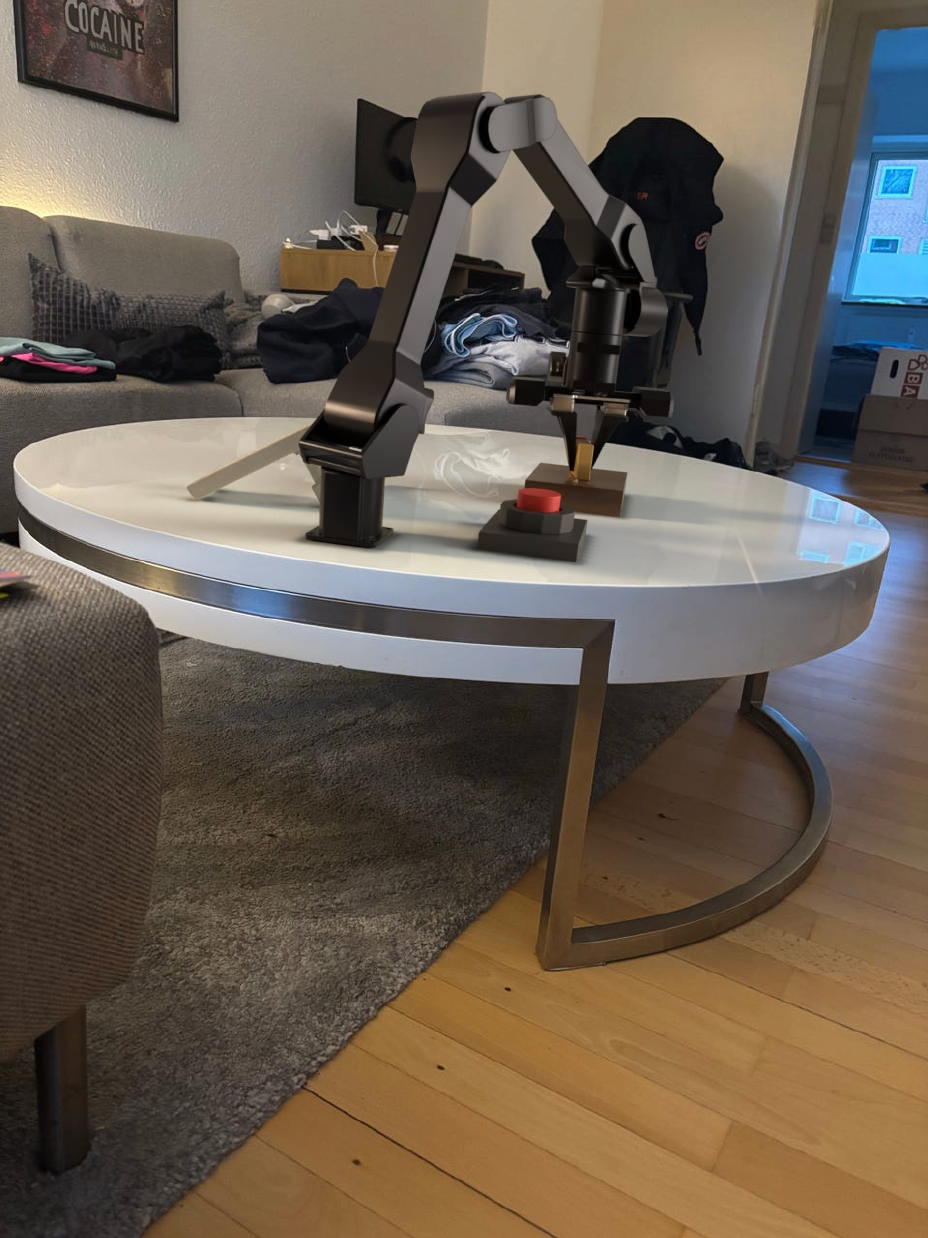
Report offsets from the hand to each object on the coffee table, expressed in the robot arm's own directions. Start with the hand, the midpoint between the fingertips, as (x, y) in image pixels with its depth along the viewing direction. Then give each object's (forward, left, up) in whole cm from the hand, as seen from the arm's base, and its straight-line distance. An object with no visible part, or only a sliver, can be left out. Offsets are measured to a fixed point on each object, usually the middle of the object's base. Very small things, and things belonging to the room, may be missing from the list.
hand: (579, 471), depth 108 cm
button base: (-24, +2, -4) cm, 24 cm away
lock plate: (0, 0, -4) cm, 4 cm away
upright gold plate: (0, 0, 0) cm, 0 cm away
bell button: (-24, +2, 0) cm, 24 cm away
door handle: (-15, +30, -4) cm, 34 cm away
